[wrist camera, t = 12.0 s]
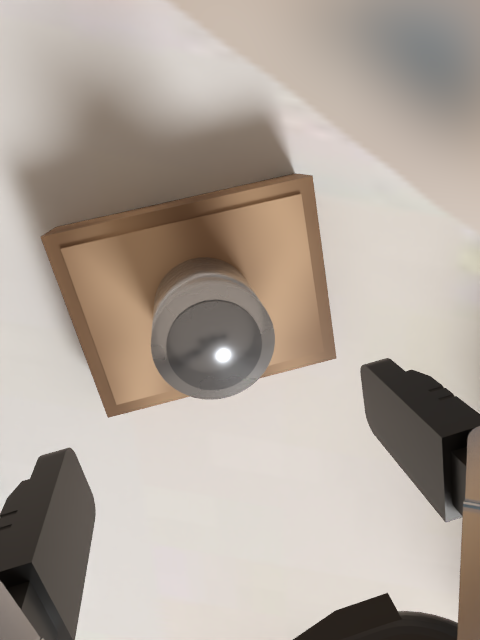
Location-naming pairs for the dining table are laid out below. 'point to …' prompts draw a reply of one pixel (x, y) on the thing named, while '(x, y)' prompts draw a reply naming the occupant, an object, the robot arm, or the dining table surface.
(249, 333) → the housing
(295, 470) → the dining table surface
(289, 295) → the tray
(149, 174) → the dining table surface
